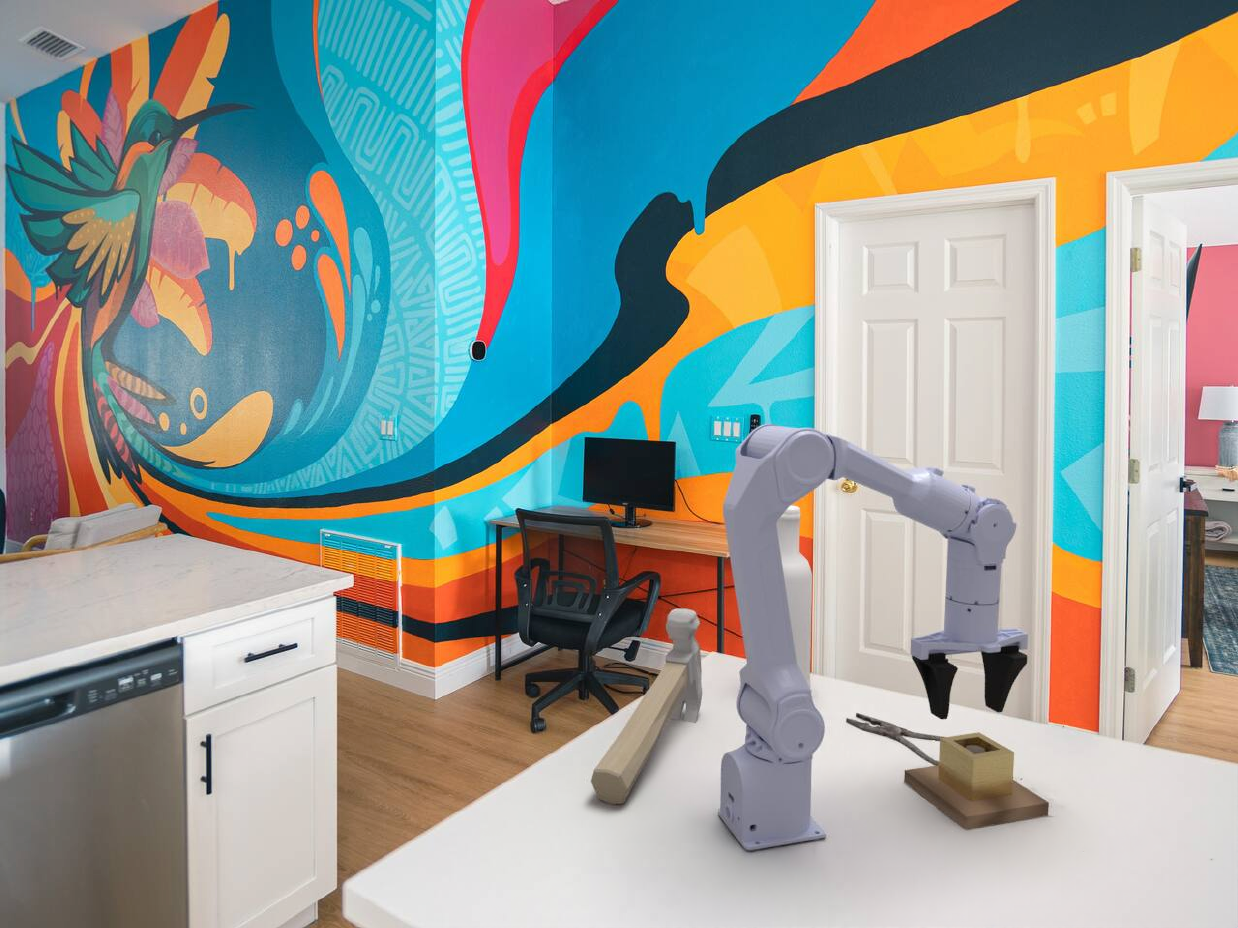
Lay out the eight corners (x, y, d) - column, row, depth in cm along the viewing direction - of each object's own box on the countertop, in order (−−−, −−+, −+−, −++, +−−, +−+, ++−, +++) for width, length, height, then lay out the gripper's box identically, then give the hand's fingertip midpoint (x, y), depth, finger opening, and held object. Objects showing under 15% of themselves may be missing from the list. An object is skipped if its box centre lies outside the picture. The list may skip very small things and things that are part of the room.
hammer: (620, 735, 89) (701, 608, 115) (583, 728, 90) (671, 605, 116) (632, 848, 93) (708, 702, 119) (596, 839, 95) (678, 697, 121)
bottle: (800, 710, 119) (804, 512, 116) (750, 699, 123) (753, 508, 120) (816, 693, 126) (821, 505, 123) (769, 683, 130) (772, 501, 127)
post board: (966, 829, 87) (968, 777, 86) (904, 781, 98) (905, 734, 97) (1048, 814, 90) (1051, 764, 89) (979, 770, 101) (981, 724, 100)
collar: (971, 801, 90) (973, 758, 90) (938, 778, 95) (940, 738, 95) (1012, 793, 92) (1014, 752, 91) (977, 771, 97) (978, 732, 97)
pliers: (984, 777, 98) (828, 734, 110) (984, 783, 98) (828, 740, 110) (1001, 748, 106) (853, 711, 117) (1000, 754, 106) (853, 717, 118)
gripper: (940, 612, 86) (935, 733, 87) (1050, 603, 90) (1044, 719, 91) (901, 596, 93) (897, 708, 94) (1005, 588, 97) (999, 696, 98)
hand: (966, 712), depth 93 cm, fingers open, 7 cm apart
